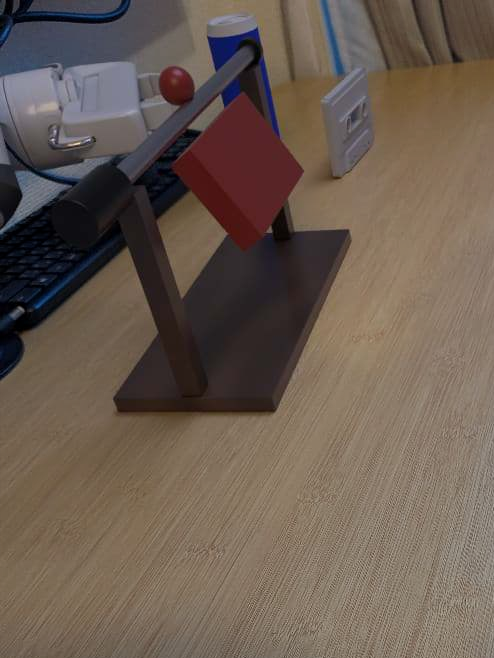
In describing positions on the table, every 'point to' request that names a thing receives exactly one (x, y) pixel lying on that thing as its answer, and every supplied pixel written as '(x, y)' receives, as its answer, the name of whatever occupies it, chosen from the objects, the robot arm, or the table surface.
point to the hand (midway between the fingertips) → (187, 92)
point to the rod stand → (228, 308)
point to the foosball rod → (196, 162)
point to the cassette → (348, 121)
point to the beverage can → (223, 47)
